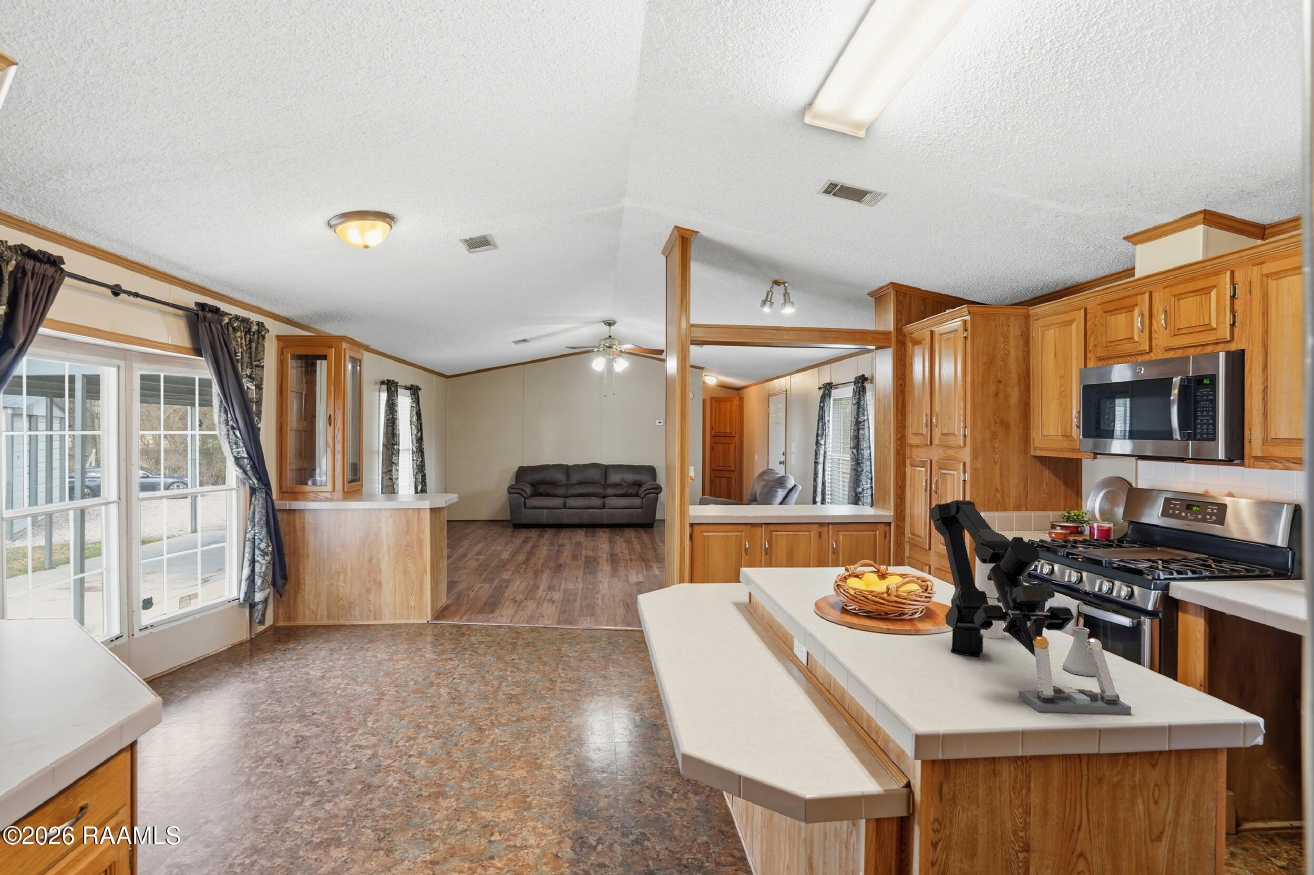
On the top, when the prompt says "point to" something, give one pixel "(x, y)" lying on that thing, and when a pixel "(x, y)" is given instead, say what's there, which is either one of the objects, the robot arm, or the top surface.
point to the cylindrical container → (988, 597)
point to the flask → (1079, 654)
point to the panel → (1074, 702)
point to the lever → (1101, 671)
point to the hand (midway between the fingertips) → (1038, 655)
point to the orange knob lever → (1043, 669)
